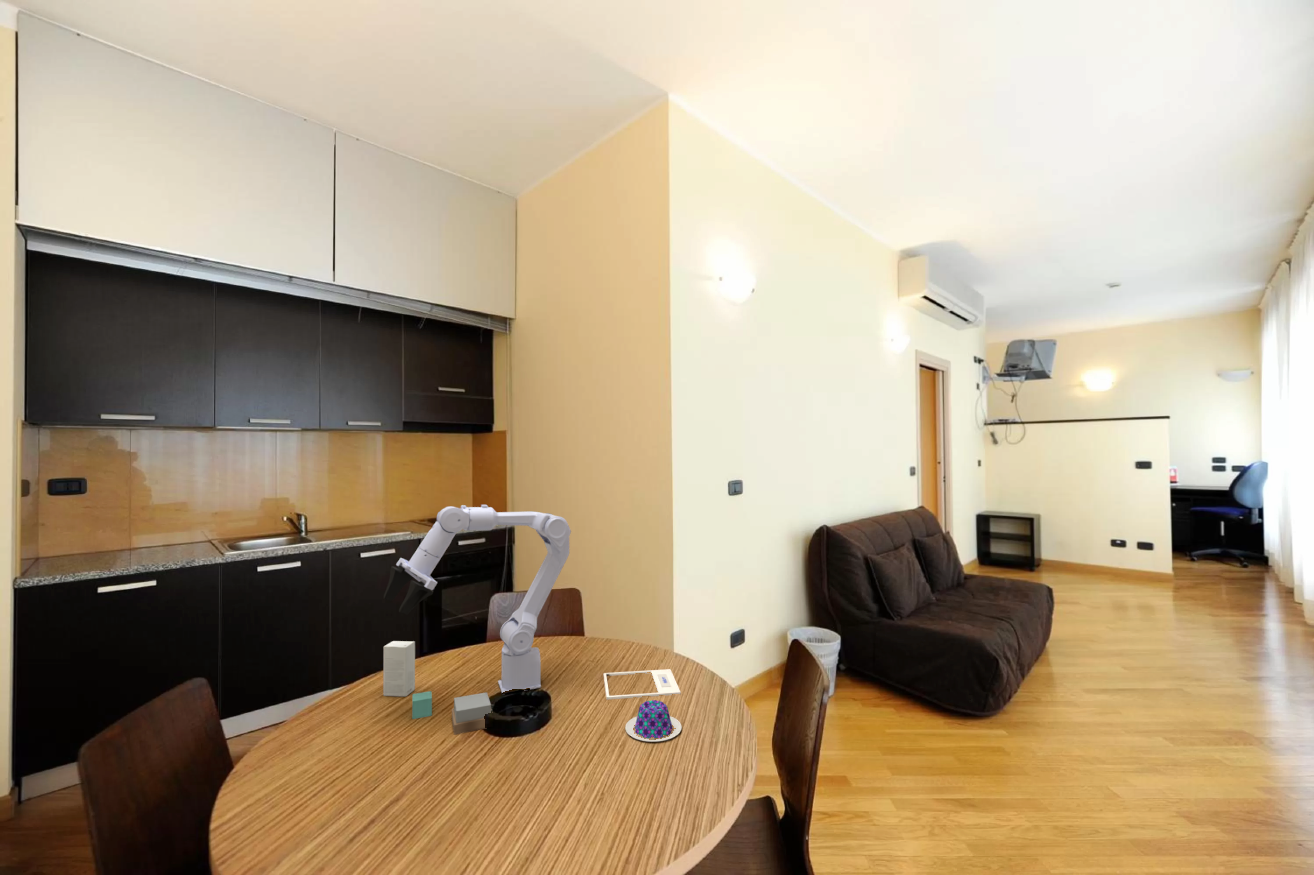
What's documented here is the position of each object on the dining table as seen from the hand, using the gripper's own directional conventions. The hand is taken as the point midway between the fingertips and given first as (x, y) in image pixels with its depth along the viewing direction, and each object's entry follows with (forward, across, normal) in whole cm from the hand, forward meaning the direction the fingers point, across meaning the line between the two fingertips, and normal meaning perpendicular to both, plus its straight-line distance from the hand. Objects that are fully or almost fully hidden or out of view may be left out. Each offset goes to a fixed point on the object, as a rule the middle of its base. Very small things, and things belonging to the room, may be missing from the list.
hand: (394, 606), depth 126 cm
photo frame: (-9, +40, +48) cm, 63 cm away
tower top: (+11, +23, +16) cm, 30 cm away
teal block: (+17, +11, +14) cm, 25 cm away
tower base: (+13, +24, +17) cm, 32 cm away
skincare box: (+19, -3, +18) cm, 26 cm away
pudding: (-5, +56, +32) cm, 65 cm away
